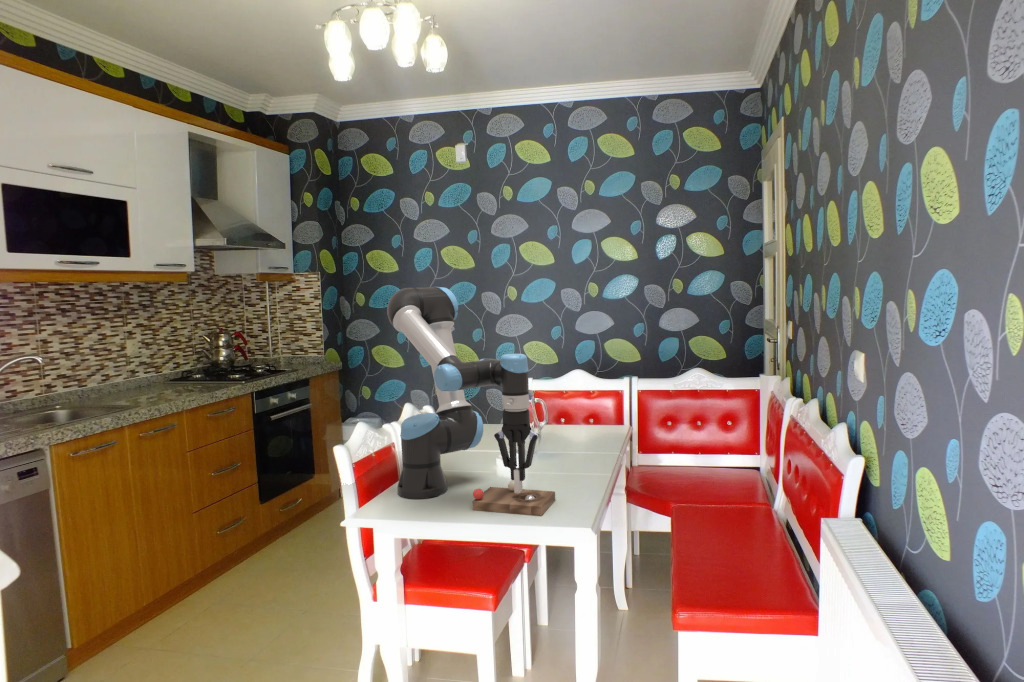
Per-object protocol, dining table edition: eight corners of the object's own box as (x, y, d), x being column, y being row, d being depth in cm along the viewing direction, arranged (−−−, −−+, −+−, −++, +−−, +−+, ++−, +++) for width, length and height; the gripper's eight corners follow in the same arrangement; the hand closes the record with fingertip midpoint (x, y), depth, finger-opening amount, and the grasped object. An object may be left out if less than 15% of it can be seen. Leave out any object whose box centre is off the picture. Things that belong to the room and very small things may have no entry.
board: (472, 510, 188) (472, 501, 188) (490, 495, 201) (490, 486, 201) (541, 515, 182) (541, 506, 181) (555, 500, 195) (555, 491, 195)
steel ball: (520, 499, 189) (530, 495, 188) (524, 496, 192) (533, 491, 191) (526, 510, 189) (535, 505, 188) (529, 506, 192) (538, 501, 191)
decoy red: (471, 500, 189) (471, 490, 188) (475, 497, 191) (475, 487, 191) (481, 501, 188) (481, 490, 187) (485, 498, 190) (485, 487, 190)
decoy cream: (506, 492, 196) (506, 481, 195) (510, 489, 198) (509, 479, 198) (516, 492, 195) (516, 482, 194) (519, 489, 197) (519, 479, 197)
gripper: (489, 410, 187) (492, 494, 189) (534, 412, 183) (536, 497, 185) (498, 406, 195) (501, 486, 196) (541, 407, 190) (544, 489, 192)
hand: (518, 491), depth 191 cm, fingers closed
